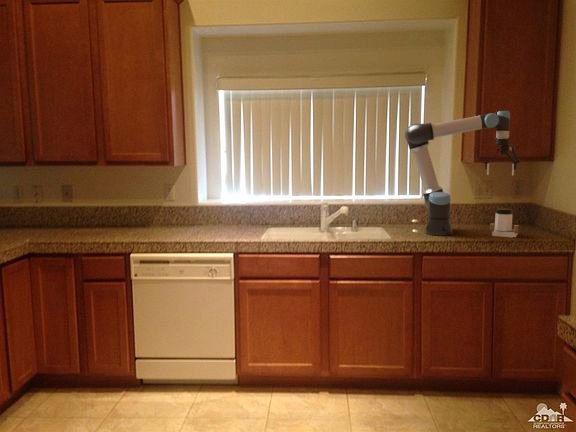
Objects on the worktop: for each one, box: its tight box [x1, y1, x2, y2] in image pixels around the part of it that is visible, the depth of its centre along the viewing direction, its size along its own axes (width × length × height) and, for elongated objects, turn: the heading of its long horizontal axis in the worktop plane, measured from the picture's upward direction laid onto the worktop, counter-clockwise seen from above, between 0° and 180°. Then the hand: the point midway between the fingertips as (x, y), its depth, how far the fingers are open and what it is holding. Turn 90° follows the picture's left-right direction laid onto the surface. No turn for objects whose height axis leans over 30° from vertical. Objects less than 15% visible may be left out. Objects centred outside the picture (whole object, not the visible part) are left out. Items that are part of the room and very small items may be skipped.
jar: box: [494, 207, 513, 231], centre depth 283 cm, size 9×8×12 cm
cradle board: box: [489, 223, 520, 238], centre depth 284 cm, size 15×16×7 cm
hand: (500, 175), depth 294 cm, fingers open, 13 cm apart
